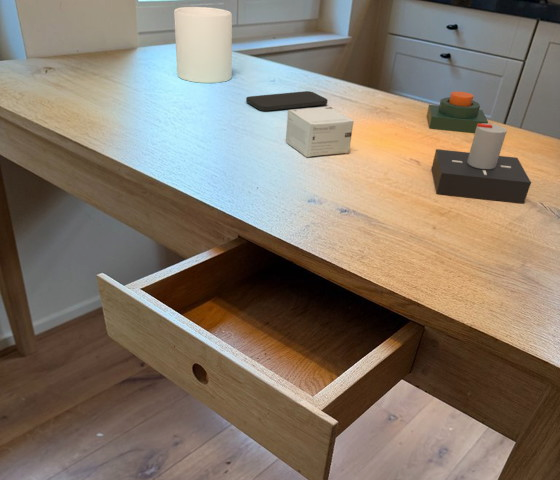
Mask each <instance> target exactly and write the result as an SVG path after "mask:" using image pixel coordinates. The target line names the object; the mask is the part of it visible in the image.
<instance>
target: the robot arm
mask: <svg viewBox="0 0 560 480" xmlns="http://www.w3.org/2000/svg"><path fill="white" fill-rule="evenodd" d="M473 1H474V0H451V5H452V6H459V7H467V8H468V7H469V8H470V7H471V6H472V5H473Z"/></svg>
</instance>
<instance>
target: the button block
mask: <svg viewBox="0 0 560 480" xmlns="http://www.w3.org/2000/svg"><path fill="white" fill-rule="evenodd" d="M449 100H450V97H444V98H441V99H440V101H439V105H437V104H436V105H435V104H428V106H427V107H428V108H427V113H426V121H427V125H428V129H429V130H438V131H446V132H457V133H466V134H467V133H468V134H475V131H476V127H477V124H478V123H479V124H483V123H488V124H489V121H488V119H487V116H486V115H485V113H484V111H483V109H480V108H481V105H480V103H479V102H477V101H475V100H474V99H473V100H472V104H471V106H458V105H454V104H451V103H449Z"/></svg>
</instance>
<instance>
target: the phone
mask: <svg viewBox="0 0 560 480" xmlns="http://www.w3.org/2000/svg"><path fill="white" fill-rule="evenodd" d="M245 102H246V103H247V104H249V105H250V106H252V107H254V108H256V109H257V110H258V111H263V112H265V111H267V112H269V111H276V110H277V111H278V110H286V109H287V110H289V109H298V108H308V107H315V106H324V105H328V98H326V97H324V96H322V95H320V94H318V93H316V92H314V91H309V90H303V91H294V92H293V91H292V92H283V93H282V92H281V93H271V94H262V95H251V96H246V97H245Z"/></svg>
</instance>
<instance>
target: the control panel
mask: <svg viewBox="0 0 560 480" xmlns="http://www.w3.org/2000/svg"><path fill="white" fill-rule="evenodd" d="M469 153H470V152H469V151H468V152H466V151H458V150H449V149H435V152H434V155H433V161H432V165H431V173H432V177H433V183H434V189H435V193H436V195H441V196H443V195H444V196H452V197H459V198H460V197H461V198H469V199H479V200H489V201H497V202H505V203H514V204H525V201H526V198H527V195H528V192H529V190H530V187H531V184H532V182H531V180H530V178H529V176H528V174H527V172H526V171H525V169H524V167H523V165H522V164H521V161H520V160H519V158H518V157H514V156H504V155H499V158H498V161H497V164H496V167H495V168H494V169H479V168H475V167H472V166H470V165H469V164H468V163H467V160H468V157H469Z"/></svg>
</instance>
